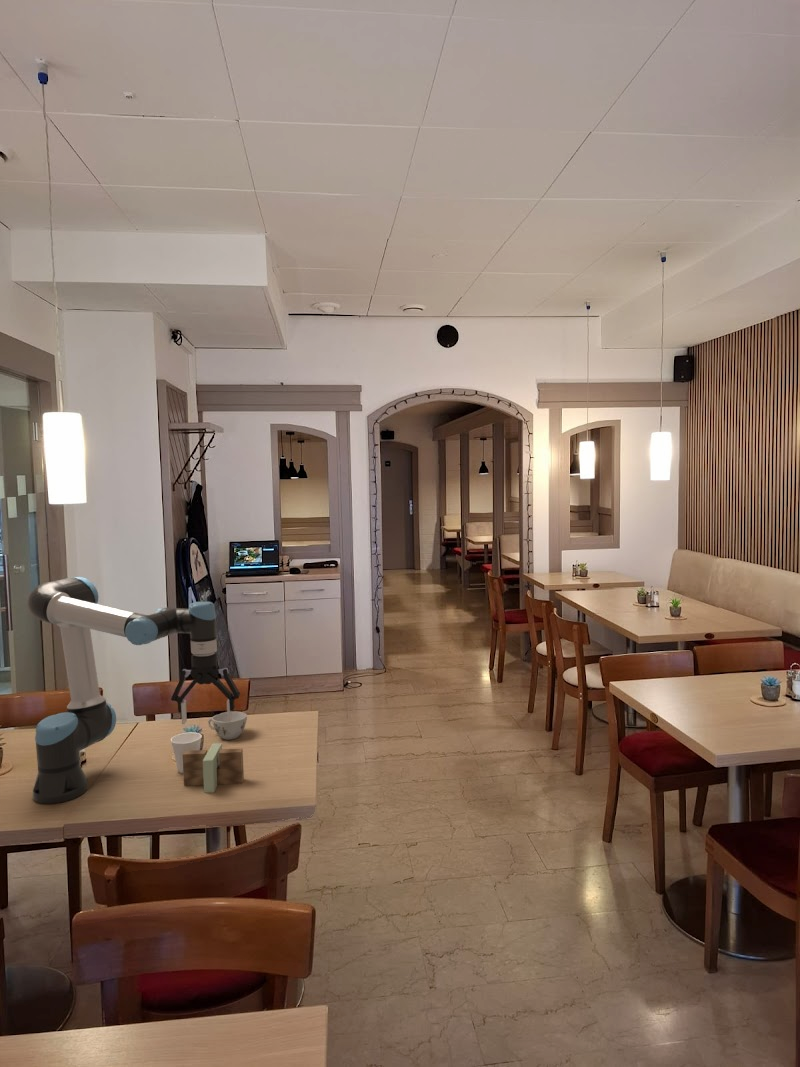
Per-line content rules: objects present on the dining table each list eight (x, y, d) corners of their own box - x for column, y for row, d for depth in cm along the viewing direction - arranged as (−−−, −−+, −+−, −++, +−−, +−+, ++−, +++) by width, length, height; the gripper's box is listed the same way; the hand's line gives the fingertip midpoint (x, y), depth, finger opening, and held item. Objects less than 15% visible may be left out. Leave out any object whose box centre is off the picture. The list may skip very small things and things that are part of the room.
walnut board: (184, 785, 220) (182, 754, 219) (186, 781, 223) (184, 750, 222) (242, 783, 221) (240, 752, 220) (243, 779, 224) (242, 748, 223)
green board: (214, 792, 215) (212, 760, 214) (204, 792, 215) (202, 760, 214) (223, 773, 229) (221, 743, 228) (213, 773, 229) (212, 743, 228)
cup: (194, 777, 226) (192, 744, 225) (166, 775, 228) (164, 742, 227) (208, 765, 236) (207, 732, 235) (181, 763, 238) (180, 731, 237)
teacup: (253, 732, 266) (252, 711, 265) (238, 744, 254) (237, 722, 253) (217, 729, 269) (216, 709, 269) (200, 741, 257) (199, 720, 256)
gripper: (158, 657, 209) (161, 727, 211) (243, 655, 210) (246, 724, 212) (165, 651, 216) (168, 719, 218) (247, 649, 218) (250, 716, 219)
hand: (207, 721), depth 215 cm, fingers open, 13 cm apart
